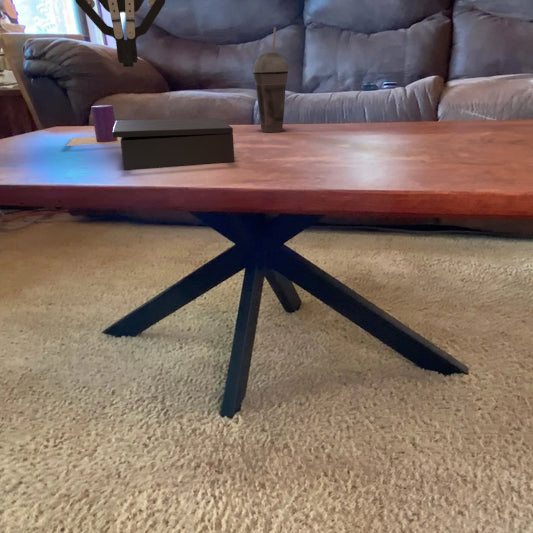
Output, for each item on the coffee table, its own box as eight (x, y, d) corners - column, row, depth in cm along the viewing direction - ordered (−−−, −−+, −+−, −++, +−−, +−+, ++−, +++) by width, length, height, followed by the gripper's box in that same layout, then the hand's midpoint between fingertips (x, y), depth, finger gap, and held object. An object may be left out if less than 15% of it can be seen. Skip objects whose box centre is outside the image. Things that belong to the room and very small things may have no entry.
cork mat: (64, 151, 92) (64, 148, 92) (73, 139, 105) (72, 137, 105) (143, 145, 95) (143, 143, 95) (142, 135, 108) (142, 133, 108)
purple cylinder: (95, 142, 98) (90, 107, 95) (97, 139, 101) (92, 105, 99) (117, 141, 99) (112, 106, 96) (118, 138, 102) (113, 104, 100)
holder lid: (113, 137, 69) (112, 131, 69) (116, 125, 81) (116, 120, 81) (233, 133, 73) (232, 127, 72) (219, 122, 85) (218, 117, 85)
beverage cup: (250, 130, 111) (246, 28, 103) (281, 127, 113) (279, 28, 105) (261, 134, 104) (258, 26, 97) (294, 131, 107) (293, 26, 99)
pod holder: (125, 175, 71) (120, 140, 70) (126, 158, 84) (122, 128, 82) (234, 167, 75) (233, 133, 73) (220, 151, 87) (219, 122, 85)
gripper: (161, -62, 74) (172, 65, 81) (66, -65, 72) (85, 67, 78) (163, -74, 67) (174, 66, 74) (58, -78, 65) (79, 68, 72)
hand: (128, 66), depth 76 cm, fingers closed
